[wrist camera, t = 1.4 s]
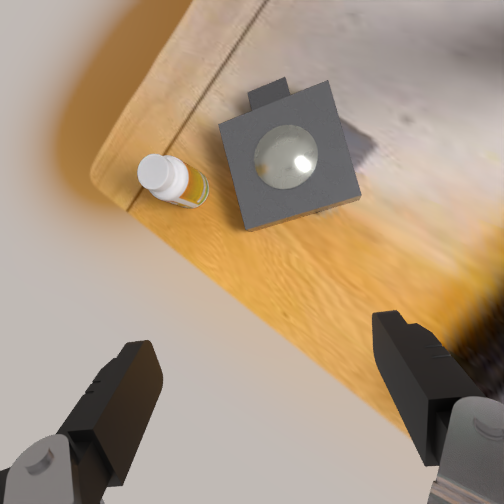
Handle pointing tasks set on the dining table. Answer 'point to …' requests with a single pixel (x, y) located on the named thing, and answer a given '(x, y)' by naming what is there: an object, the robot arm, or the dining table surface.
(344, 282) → the dining table surface
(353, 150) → the dining table surface
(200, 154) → the dining table surface
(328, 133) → the grey coaster with tab
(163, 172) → the supplement bottle
